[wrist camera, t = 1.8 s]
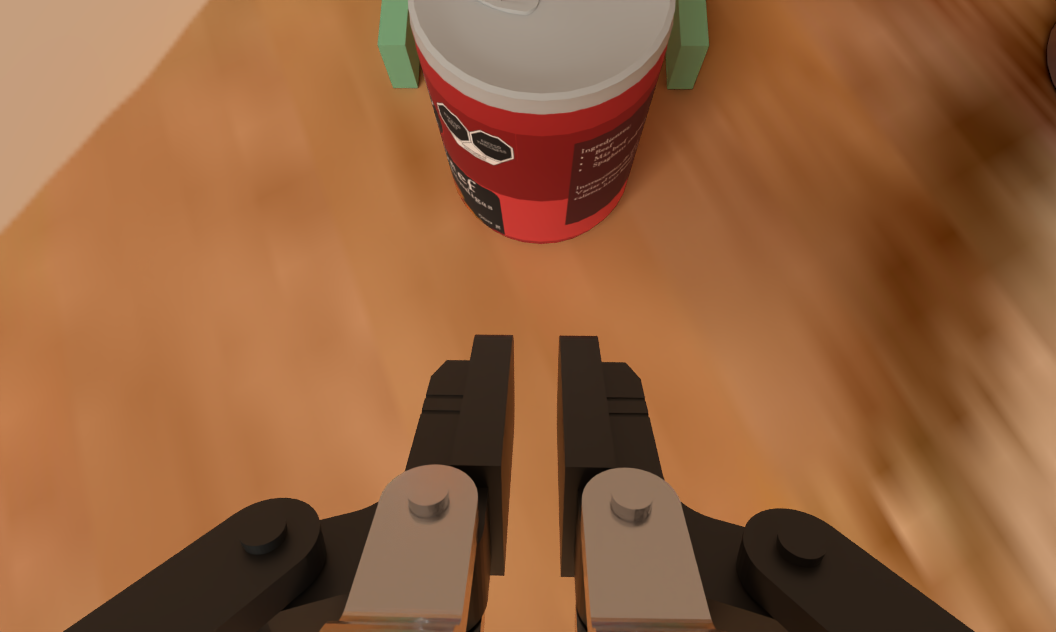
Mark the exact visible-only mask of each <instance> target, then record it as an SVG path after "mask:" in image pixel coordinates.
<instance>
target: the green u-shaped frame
mask: <svg viewBox="0 0 1056 632" xmlns="http://www.w3.org/2000/svg"><path fill="white" fill-rule="evenodd" d="M378 47H379V50H380V53H381V56H382V58H383V61H384V64H385V67H386V69H387V72H388V75H389V78H390V80H391V83H392V86H393V88H418V81H419V68H420V60H419V57H418V53H417V50H416V44H415V40H414V36H413V33H412V29H411V25H410V14H409V10H408V0H382V5H381V15H380V26H379V36H378ZM708 47H709V38H708V24H707V11H706V0H675V12H674V19H673V27H672V30H671V34H670V37H669V41H668V45H667V50H666V53H665V55H666V75H667V89H693V86H694V84H695V81H696V78H697V76H698V73H699V71H700V68H701V65H702V63H703V60H704V58H705V55H706V53H707V50H708Z"/></svg>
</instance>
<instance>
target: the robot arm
mask: <svg viewBox="0 0 1056 632" xmlns="http://www.w3.org/2000/svg"><path fill="white" fill-rule="evenodd" d="M1047 63H1048V68H1049V71H1050V75H1051V78H1052V82H1053V84H1054V86H1055V87H1056V24H1055V25H1054V27H1053V29H1052V31H1051V33H1050V37H1049V41H1048V46H1047ZM513 437H514V340H513V335H475V337H474V342H473V347H472V352H471V357H470V361H467V360H447V361H446V362H445V363H444V364H443V365H442V366H441V367H440V368H439V369H438V370H437V371H436V372H435V373H434V374H433V375H432V376H431V379H430V382H429V386H428V390H427V393H426V398H425V400H424V404H423V408H422V414H421V415H420V418H419V422H418V426H417V429H416V433H415V436H414V440H413V444H412V447H411V451H410V454H409V458H408V462H407V465H406V469H405V472H403V473H402V474H400V475H398V476H397V477H396V478H394V479H393V480H392V481H391V482H390V483H389V484H388V485H387V486H386V488H385V489H384V491H383V492H382V495H381V497H380V500H379V502H377V503H375V504H373V505H372V506H369V507H367V508H364V509H362V510H358V511H355V512H351V513H347V514H343V515H339V516H335V517H331V518H326V519H322V520H319V517H318V515H317V513H316V511H315V510H314V509H313V508H312V507H311V506H310V505H309V504H307V503H305V502H303V501H300V500H297V499H291V498H275V499H269V500H264V501H261V502H258V503H255V504H252V505H250V506H248V507H246V508H244V509H242V510H240V511H239V512H237V513H235V514H234V515H232V516H231V517H230V518H228V519H227V520H225V521H224V522H222V523H221V524H219V525H218V526H216V527H215V528H214V529H212V530H211V531H209V532H208V533H206V534H205V535H203V536H202V537H200V538H199V539H197V540H196V541H195V542H193V543H192V544H190V545H189V546H187V547H186V548H184V549H183V550H181V551H180V552H179V553H177V554H176V555H174V556H173V557H171V558H170V559H168V560H167V561H165V562H164V563H163V564H161V565H160V566H158V567H157V568H155V569H154V570H152V571H151V572H149V573H148V574H146V575H145V576H144V577H142V578H141V579H139V580H138V581H136V582H135V583H133V584H132V585H130V586H129V587H128V588H126V589H125V590H123V591H122V592H120V593H119V594H117V595H116V596H114V597H113V598H111V599H110V600H109V601H107V602H106V603H104V604H103V605H101V606H100V607H98V608H97V609H95V610H94V611H93V612H91V613H90V614H88V615H87V616H85V617H84V618H82V619H81V620H79V621H78V622H77V623H75V624H74V625H72V626H71V627H69V628H68V629H66V630H65V631H63V632H484V623H485V614H484V612H485V609H486V606H487V601H488V591H489V580H490V575H500V576H504V572H505V557H506V542H507V527H508V512H509V497H510V482H511V467H512V452H513ZM557 450H558V488H559V526H560V564H561V577H575V593H576V607H575V632H974V631H973V630H972V629H970V628H969V627H967V626H966V625H965V624H963V623H962V622H961V621H959V620H958V619H957V618H955V617H954V616H953V615H951V614H950V613H948V612H947V611H946V610H944V609H943V608H942V607H940V606H939V605H938V604H936V603H935V602H934V601H932V600H931V599H929V598H928V597H927V596H925V595H924V594H923V593H921V592H920V591H919V590H917V589H916V588H915V587H913V586H912V585H910V584H909V583H908V582H906V581H905V580H904V579H902V578H901V577H900V576H898V575H897V574H896V573H894V572H893V571H891V570H890V569H889V568H887V567H886V566H885V565H883V564H882V563H881V562H879V561H878V560H877V559H875V558H874V557H872V556H871V555H870V554H868V553H867V552H866V551H864V550H863V549H862V548H860V547H859V546H858V545H856V544H855V543H854V542H852V541H851V540H849V539H848V538H847V537H845V536H844V535H843V534H841V533H840V532H839V531H837V530H836V529H835V528H833V527H832V526H830V525H829V524H827V523H826V522H824V521H822V520H821V519H819V518H817V517H815V516H812V515H810V514H807V513H804V512H801V511H797V510H792V509H779V508H777V509H769V510H765V511H762V512H760V513H758V514H756V515H754V516H753V517H752V518H751V519H750V520H749V521H748V522H747V524H746V526H745V527H742V526H739V525H735V524H731V523H728V522H724V521H721V520H717V519H713V518H710V517H707V516H704V515H702V514H700V513H698V512H696V511H694V510H692V509H690V508H689V507H687V506H686V505H684V504H683V503H682V502H680V500H679V497H678V495H677V494H676V492H675V490H674V489H673V488H672V487H671V486H670V485H669V484H668V483H667V482H665V480H664V477H663V474H662V470H661V465H660V461H659V457H658V452H657V448H656V444H655V439H654V435H653V431H652V427H651V422H650V418H649V417H648V409H647V405H646V401H645V396H644V392H643V388H642V384H641V379H640V378H639V377H638V376H637V375H636V374H635V372H634V371H633V370H632V369H631V368H630V367H629V366H628V365H627V364H626V363H623V362H601V355H600V349H599V342H598V337H597V336H559V357H558V391H557Z"/></svg>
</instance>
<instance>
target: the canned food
mask: <svg viewBox="0 0 1056 632" xmlns="http://www.w3.org/2000/svg"><path fill="white" fill-rule="evenodd" d="M408 10H409V14H410V25H411V29H412V33H413V36H414V40H415V44H416V50H417V53H418V57H419V60H420V64H421V67H422V71H423V74H424V78H425V81H426V85H427V88H428V92H429V95H430V99H431V102H432V106H433V109H434V113H435V116H436V120H437V123H438V127H439V130H440V134H441V137H442V141H443V144H444V148H445V151H446V155H447V158H448V162H449V165H450V169H451V172H452V176H453V179H454V182H455V185H456V188H457V191H458V193H459V195H460V197H461V199H462V200H463V202H464V204H465V205H466V207H467V208H468V209H469V210H470V211H471V212H472V213H473V214H474V215H475V217H476V218H478V219H479V220H480V221H482V222H483V223H484V224H486V225H487V226H488V227H490V228H491V229H492V230H494V231H496V232H498V233H500V234H502V235H504V236H506V237H508V238H511V239H515V240H518V241H522V242H527V243H538V244H544V243H557V242H561V241H565V240H568V239H572V238H574V237H577V236H579V235H581V234H583V233H585V232H587V231H588V230H590V229H591V228H593V227H594V226H595V225H597V224H598V223H599V222H601V221H602V220H604V219H605V218H606V217H607V216H608V215H609V213H610V212H611V211H612V210H613V209H614V208H615V207H616V205H617V203H618V202H619V200H620V198H621V196H622V195H623V193H624V190H625V186H626V183H627V180H628V176H629V173H630V170H631V166H632V163H633V160H634V156H635V153H636V150H637V146H638V143H639V140H640V136H641V133H642V130H643V126H644V123H645V120H646V116H647V113H648V110H649V106H650V103H651V100H652V97H653V93H654V90H655V87H656V83H657V80H658V77H659V73H660V70H661V67H662V63H663V60H664V57H665V53H666V50H667V45H668V41H669V37H670V34H671V30H672V27H673V19H674V12H675V0H408Z"/></svg>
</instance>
